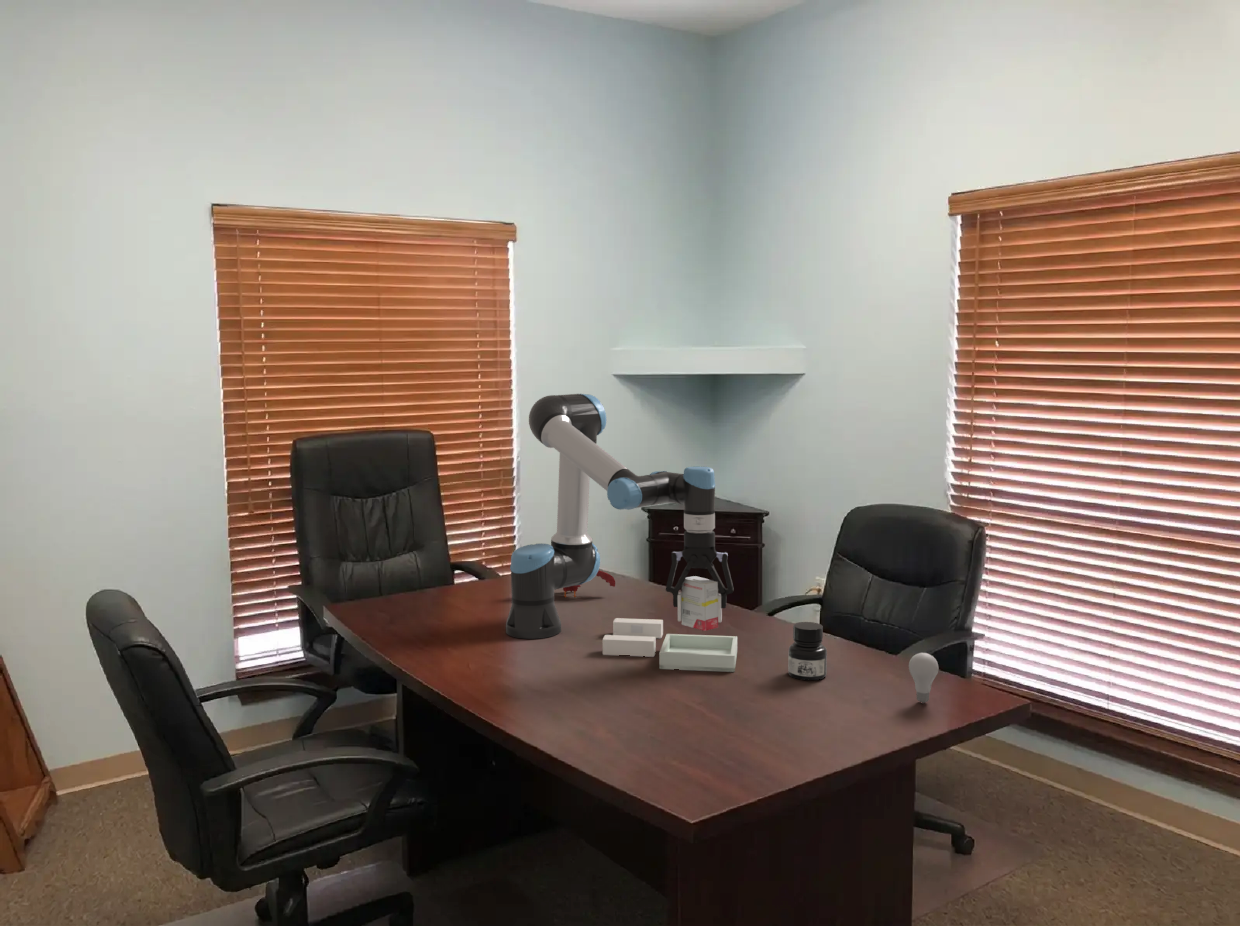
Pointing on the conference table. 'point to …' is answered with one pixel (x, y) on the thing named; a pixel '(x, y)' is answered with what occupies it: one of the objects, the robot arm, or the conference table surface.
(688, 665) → the pale green tray
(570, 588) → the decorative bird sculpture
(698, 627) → the ink box
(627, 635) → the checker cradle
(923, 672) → the lightbulb
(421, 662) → the conference table surface
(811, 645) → the ink bottle
